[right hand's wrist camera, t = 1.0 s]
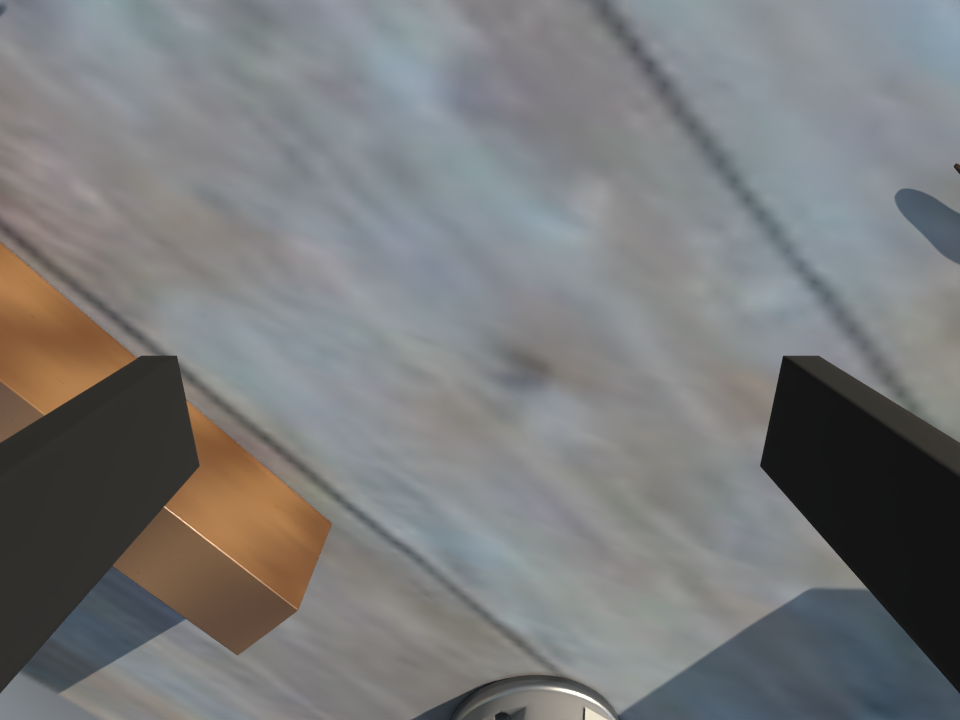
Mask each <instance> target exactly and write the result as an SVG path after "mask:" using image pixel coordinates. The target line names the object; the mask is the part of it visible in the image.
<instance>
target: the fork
mask: <svg viewBox="0 0 960 720" xmlns="http://www.w3.org/2000/svg"><path fill="white" fill-rule="evenodd" d="M954 168H955V169H956V170H957V171H958V173H959V174H960V165H959V164H955V165H954Z"/></svg>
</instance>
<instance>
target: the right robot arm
mask: <svg viewBox="0 0 960 720" xmlns="http://www.w3.org/2000/svg"><path fill="white" fill-rule="evenodd" d="M199 466H200V464H199V460H198V455H197V450H196V445H195V440H194V436H193V431H192V426H191V421H190V417H189V412H188V407H187V402H186V397H185V393H184V388H183V383H182V378H181V373H180V369H179V364H178V359H177V356H140V357H139V358H137V359H135V360H134V361H132V362H131V363H129V364H127V365H126V366H124V367H123V368H121V369H119V370H118V371H116V372H114V373H113V374H111V375H110V376H108V377H106V378H105V379H103V380H101V381H100V382H98V383H97V384H95V385H93V386H92V387H90V388H88V389H87V390H85V391H84V392H82V393H80V394H79V395H77V396H75V397H74V398H72V399H71V400H69V401H67V402H66V403H64V404H62V405H61V406H59V407H58V408H56V409H54V410H53V411H51V412H49V413H48V414H46V415H45V416H43V417H41V418H40V419H38V420H37V421H35V422H33V423H32V424H30V425H28V426H27V427H25V428H24V429H22V430H20V431H19V432H17V433H15V434H14V435H12V436H11V437H9V438H7V439H6V440H4V441H2V442H1V443H0V693H1V692H2V691H3V690H4V688H5V687H6V686H7V685H8V684H9V683H10V682H11V680H12V679H13V678H14V677H15V676H16V675H17V674H18V672H19V671H20V670H21V669H22V668H23V667H24V666H25V664H26V663H27V662H28V661H29V660H30V659H31V658H32V657H33V655H34V654H35V653H36V652H37V651H38V650H39V649H40V647H41V646H42V645H43V644H44V643H45V642H46V641H47V639H48V638H49V637H50V636H51V635H52V634H53V633H54V631H55V630H56V629H57V628H58V627H59V626H60V625H61V624H62V622H63V621H64V620H65V619H66V618H67V617H68V616H69V614H70V613H71V612H72V611H73V610H74V609H75V608H76V606H77V605H78V604H79V603H80V602H81V601H82V600H83V598H84V597H85V596H86V595H87V594H88V593H89V592H90V590H91V589H92V588H93V587H94V586H95V585H96V584H97V583H98V581H99V580H100V579H101V578H102V577H103V576H104V575H105V573H106V572H107V571H108V570H109V569H110V568H111V567H112V565H113V564H114V563H115V562H116V561H117V560H118V559H119V557H120V556H121V555H122V554H123V553H124V552H125V551H126V550H127V548H128V547H129V546H130V545H131V544H132V543H133V542H134V540H135V539H136V538H137V537H138V536H139V535H140V534H141V532H142V531H143V530H144V529H145V528H146V527H147V526H148V524H149V523H150V522H151V521H152V520H153V519H154V518H155V517H156V515H157V514H158V513H159V512H160V511H161V510H162V509H163V507H164V506H165V505H166V504H167V503H168V502H169V501H170V499H171V498H172V497H173V496H174V495H175V494H176V493H177V491H178V490H179V489H180V488H181V487H182V486H183V485H184V484H185V482H186V481H187V480H188V479H189V478H190V477H191V476H192V474H193V473H194V472H195V471H196V470H197V469H198V468H199ZM760 466H761V468H762V469H763V470H764V471H765V472H766V473H767V474H768V476H769V477H770V478H771V479H772V480H773V481H774V482H775V484H776V485H777V486H778V487H779V488H780V489H781V490H782V491H783V493H784V494H785V495H786V496H787V497H788V498H789V499H790V501H791V502H792V503H793V504H794V505H795V506H796V507H797V509H798V510H799V511H800V512H801V513H802V514H803V515H804V517H805V518H806V519H807V520H808V521H809V522H810V523H811V524H812V526H813V527H814V528H815V529H816V530H817V531H818V532H819V534H820V535H821V536H822V537H823V538H824V539H825V540H826V542H827V543H828V544H829V545H830V546H831V547H832V548H833V550H834V551H835V552H836V553H837V554H838V555H839V556H840V557H841V559H842V560H843V561H844V562H845V563H846V564H847V565H848V567H849V568H850V569H851V570H852V571H853V572H854V573H855V575H856V576H857V577H858V578H859V579H860V580H861V581H862V583H863V584H864V585H865V586H866V587H867V588H868V589H869V590H870V592H871V593H872V594H873V595H874V596H875V597H876V598H877V600H878V601H879V602H880V603H881V604H882V605H883V606H884V608H885V609H886V610H887V611H888V612H889V613H890V614H891V616H892V617H893V618H894V619H895V620H896V621H897V622H898V624H899V625H900V626H901V627H902V628H903V629H904V630H905V631H906V633H907V634H908V635H909V636H910V637H911V638H912V639H913V641H914V642H915V643H916V644H917V645H918V646H919V647H920V649H921V650H922V651H923V652H924V653H925V654H926V655H927V657H928V658H929V659H930V660H931V661H932V662H933V663H934V664H935V666H936V667H937V668H938V669H939V670H940V671H941V672H942V674H943V675H944V676H945V677H946V678H947V679H948V680H949V682H950V683H951V684H952V685H953V686H954V687H955V688H956V690H957V691H958V692H959V693H960V443H959V442H958V441H956V440H954V439H953V438H951V437H949V436H948V435H946V434H945V433H943V432H941V431H940V430H938V429H936V428H935V427H933V426H932V425H930V424H928V423H927V422H925V421H923V420H922V419H920V418H919V417H917V416H915V415H914V414H912V413H911V412H909V411H907V410H906V409H904V408H902V407H901V406H899V405H898V404H896V403H894V402H893V401H891V400H889V399H888V398H886V397H885V396H883V395H881V394H880V393H878V392H876V391H875V390H873V389H872V388H870V387H868V386H867V385H865V384H863V383H862V382H860V381H859V380H857V379H855V378H854V377H852V376H850V375H849V374H847V373H846V372H844V371H842V370H841V369H839V368H837V367H836V366H834V365H833V364H831V363H829V362H828V361H826V360H825V359H823V358H821V357H820V356H783V359H782V364H781V369H780V373H779V378H778V383H777V388H776V393H775V397H774V402H773V407H772V412H771V417H770V421H769V426H768V431H767V436H766V440H765V445H764V450H763V455H762V460H761V464H760ZM450 720H619V718H618V716H617V714H616V712H615V710H614V709H613V707H612V706H611V705H610V703H609V702H608V701H607V700H606V699H605V698H604V697H603V696H601V695H600V694H599V693H597V692H596V691H594V690H593V689H591V688H589V687H587V686H585V685H583V684H581V683H578V682H576V681H572V680H569V679H565V678H561V677H555V676H545V675H528V676H519V677H513V678H508V679H504V680H501V681H497V682H495V683H492V684H490V685H487V686H485V687H483V688H481V689H479V690H478V691H476V692H474V693H473V694H472V695H470V696H469V697H468V698H466V699H465V700H464V701H463V702H462V703H461V704H460V705H459V706H458V708H457V709H456V710H455V712H454V713H453V715H452V717H451V719H450Z"/></svg>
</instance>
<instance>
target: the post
mask: <svg viewBox="0 0 960 720" xmlns="http://www.w3.org/2000/svg"><path fill="white" fill-rule="evenodd" d="M135 359H137V358H136V357H135V356H134V355H132V354H131V353H130V352H129V351H128V350H126V349H125V348H124V347H123V346H122V345H121V344H119V343H118V342H117V341H116V340H115V339H114V338H112V337H111V336H110V335H109V334H108V333H106V332H105V331H104V330H103V329H102V328H101V327H99V326H98V325H97V324H96V323H95V322H93V321H92V320H91V319H90V318H89V317H88V316H86V315H85V314H84V313H83V312H82V311H81V310H79V309H78V308H77V307H76V306H75V305H73V304H72V303H71V302H70V301H69V300H68V299H66V298H65V297H64V296H63V295H62V294H60V293H59V292H58V291H57V290H56V289H55V288H53V287H52V286H51V285H50V284H49V283H48V282H46V281H45V280H44V279H43V278H42V277H40V276H39V275H38V274H37V273H36V272H35V271H33V270H32V269H31V268H30V267H29V266H27V265H26V264H25V263H24V262H23V261H22V260H20V259H19V258H18V257H17V256H16V255H14V254H13V253H12V252H11V251H10V250H9V249H7V248H6V247H5V246H4V245H3V244H2V243H0V443H1V442H2V441H4V440H6V439H7V438H9V437H11V436H12V435H14V434H15V433H17V432H19V431H20V430H22V429H24V428H25V427H27V426H28V425H30V424H32V423H33V422H35V421H37V420H38V419H40V418H41V417H43V416H45V415H46V414H48V413H49V412H51V411H53V410H54V409H56V408H58V407H59V406H61V405H62V404H64V403H66V402H67V401H69V400H71V399H72V398H74V397H75V396H77V395H79V394H80V393H82V392H84V391H85V390H87V389H88V388H90V387H92V386H93V385H95V384H97V383H98V382H100V381H101V380H103V379H105V378H106V377H108V376H110V375H111V374H113V373H114V372H116V371H118V370H119V369H121V368H123V367H124V366H126V365H127V364H129V363H131V362H132V361H134V360H135ZM186 402H187V407H188V412H189V417H190V421H191V426H192V431H193V436H194V440H195V445H196V450H197V455H198V460H199V464H200V466H199V468H198V469H197V470H196V471H195V472H194V473H193V474H192V476H191V477H190V478H189V479H188V480H187V481H186V482H185V484H184V485H183V486H182V487H181V488H180V489H179V490H178V491H177V493H176V494H175V495H174V496H173V497H172V498H171V499H170V501H169V502H168V503H167V504H166V505H165V506H164V507H163V509H162V510H161V511H160V512H159V513H158V514H157V515H156V517H155V518H154V519H153V520H152V521H151V522H150V523H149V524H148V526H147V527H146V528H145V529H144V530H143V531H142V532H141V534H140V535H139V536H138V537H137V538H136V539H135V540H134V542H133V543H132V544H131V545H130V546H129V547H128V548H127V550H126V551H125V552H124V553H123V554H122V555H121V556H120V557H119V559H118V560H117V561H116V562H115V563H114V564H113V565H112V566H113V567H114V568H116V569H117V570H119V571H120V572H121V573H123V574H124V575H126V576H127V577H128V578H130V579H131V580H133V581H134V582H135V583H137V584H138V585H140V586H141V587H142V588H144V589H145V590H147V591H148V592H149V593H151V594H152V595H154V596H155V597H156V598H158V599H159V600H161V601H162V602H163V603H165V604H166V605H168V606H169V607H170V608H172V609H173V610H175V611H176V612H177V613H179V614H180V615H182V616H183V617H184V618H186V619H187V620H189V621H190V622H191V623H193V624H194V625H196V626H197V627H198V628H200V629H201V630H203V631H204V632H205V633H207V634H208V635H210V636H211V637H212V638H214V639H215V640H217V641H218V642H219V643H221V644H222V645H224V646H225V647H226V648H228V649H229V650H231V651H232V652H233V653H235V654H236V655H239V654H240V653H242V652H243V651H244V650H246V649H247V648H248V647H250V646H251V645H252V644H254V643H255V642H256V641H258V640H259V639H260V638H262V637H263V636H264V635H266V634H267V633H268V632H270V631H271V630H272V629H274V628H275V627H276V626H278V625H279V624H280V623H282V622H283V621H284V620H286V619H287V618H288V617H290V616H291V615H292V614H294V613H295V612H296V611H298V609H299V606H300V604H301V601H302V599H303V596H304V594H305V591H306V588H307V586H308V583H309V581H310V578H311V576H312V573H313V571H314V568H315V565H316V563H317V560H318V558H319V555H320V553H321V550H322V548H323V545H324V542H325V540H326V537H327V535H328V532H329V530H330V527H331V525H332V524H331V523H330V522H329V521H328V520H327V519H326V518H325V517H323V516H322V515H321V514H320V513H319V512H317V511H316V510H315V509H314V508H313V507H312V506H310V505H309V504H308V503H307V502H306V501H305V500H303V499H302V498H301V497H300V496H299V495H297V494H296V493H295V492H294V491H293V490H292V489H290V488H289V487H288V486H287V485H286V484H284V483H283V482H282V481H281V480H280V479H279V478H277V477H276V476H275V475H274V474H273V473H272V472H270V471H269V470H268V469H267V468H266V467H264V466H263V465H262V464H261V463H260V462H259V461H257V460H256V459H255V458H254V457H253V456H251V455H250V454H249V453H248V452H247V451H246V450H244V449H243V448H242V447H241V446H240V445H238V444H237V443H236V442H235V441H234V440H233V439H231V438H230V437H229V436H228V435H227V434H226V433H224V432H223V431H222V430H221V429H220V428H218V427H217V426H216V425H215V424H214V423H213V422H211V421H210V420H209V419H208V418H207V417H205V416H204V415H203V414H202V413H201V412H200V411H198V410H197V409H196V408H195V407H194V406H193V405H191V404H190V403H189V402H188V401H187V400H186Z"/></svg>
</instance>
